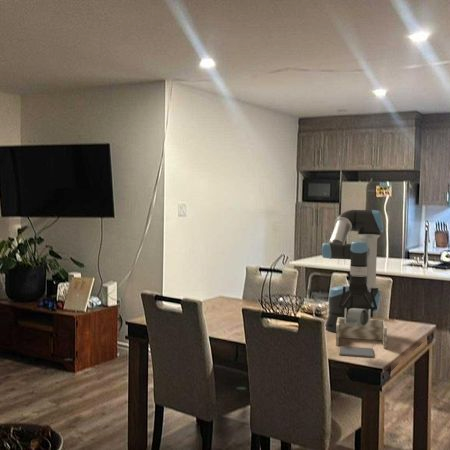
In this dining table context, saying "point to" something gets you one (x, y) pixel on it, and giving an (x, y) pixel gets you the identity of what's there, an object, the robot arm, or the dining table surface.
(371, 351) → the rubber mat
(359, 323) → the ceramic mug
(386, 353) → the dining table surface
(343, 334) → the open box
